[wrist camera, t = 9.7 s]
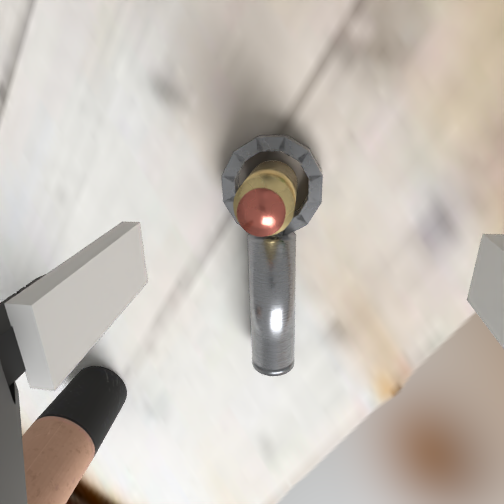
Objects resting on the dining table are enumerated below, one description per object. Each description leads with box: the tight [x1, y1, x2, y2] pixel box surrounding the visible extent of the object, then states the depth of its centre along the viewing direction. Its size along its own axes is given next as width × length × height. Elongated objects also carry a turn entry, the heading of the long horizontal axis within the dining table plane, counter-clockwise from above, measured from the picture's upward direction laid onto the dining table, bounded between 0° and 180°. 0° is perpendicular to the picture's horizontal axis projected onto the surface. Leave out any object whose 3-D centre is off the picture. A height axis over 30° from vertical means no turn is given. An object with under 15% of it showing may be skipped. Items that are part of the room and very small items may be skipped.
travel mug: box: [22, 366, 127, 504], centre depth 41 cm, size 8×8×20 cm
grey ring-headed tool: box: [222, 135, 323, 376], centre depth 37 cm, size 24×9×5 cm, turn 2°
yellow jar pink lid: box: [233, 160, 298, 237], centre depth 32 cm, size 5×5×10 cm
